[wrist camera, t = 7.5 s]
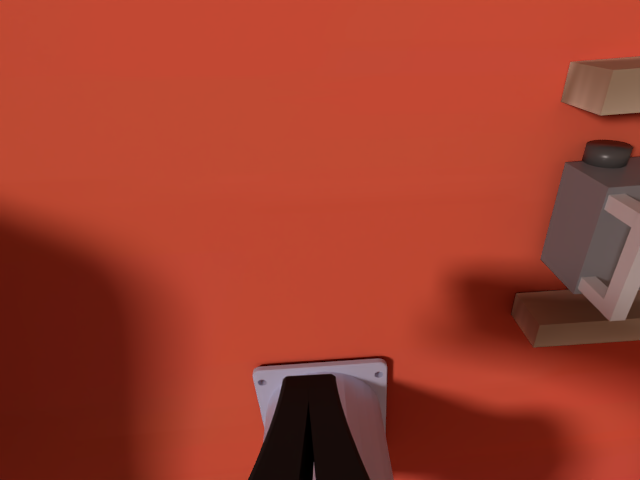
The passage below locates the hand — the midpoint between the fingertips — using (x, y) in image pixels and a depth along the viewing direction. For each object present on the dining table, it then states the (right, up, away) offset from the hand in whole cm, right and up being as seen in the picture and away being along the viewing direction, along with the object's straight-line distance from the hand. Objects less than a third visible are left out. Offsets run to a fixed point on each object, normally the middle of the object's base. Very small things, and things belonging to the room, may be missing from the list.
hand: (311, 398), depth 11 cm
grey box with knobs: (+16, +6, +8) cm, 18 cm away
